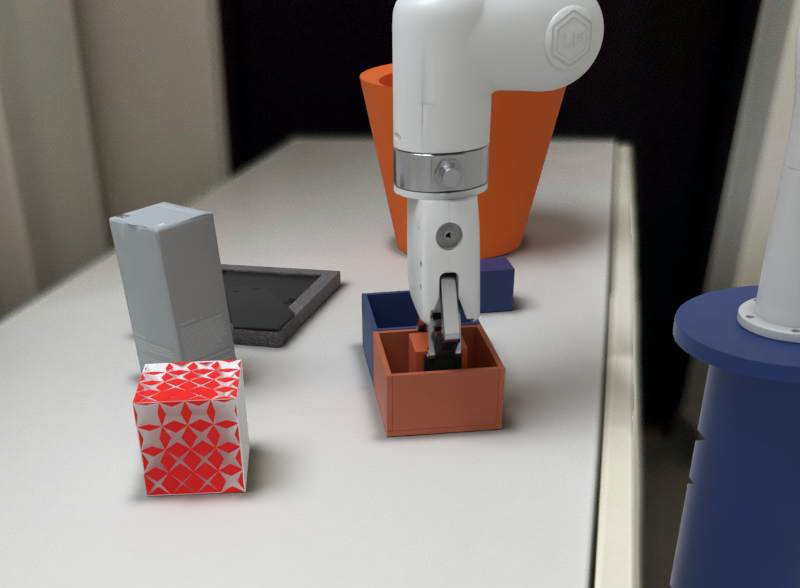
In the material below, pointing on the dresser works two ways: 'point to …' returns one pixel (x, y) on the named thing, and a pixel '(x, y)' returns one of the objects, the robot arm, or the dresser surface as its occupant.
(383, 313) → the navy bin
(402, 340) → the rust bin
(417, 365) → the rust block
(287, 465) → the dresser surface
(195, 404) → the red and white cube
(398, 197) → the flowerpot
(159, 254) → the cosmetic box
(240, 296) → the picture frame
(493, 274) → the navy block
